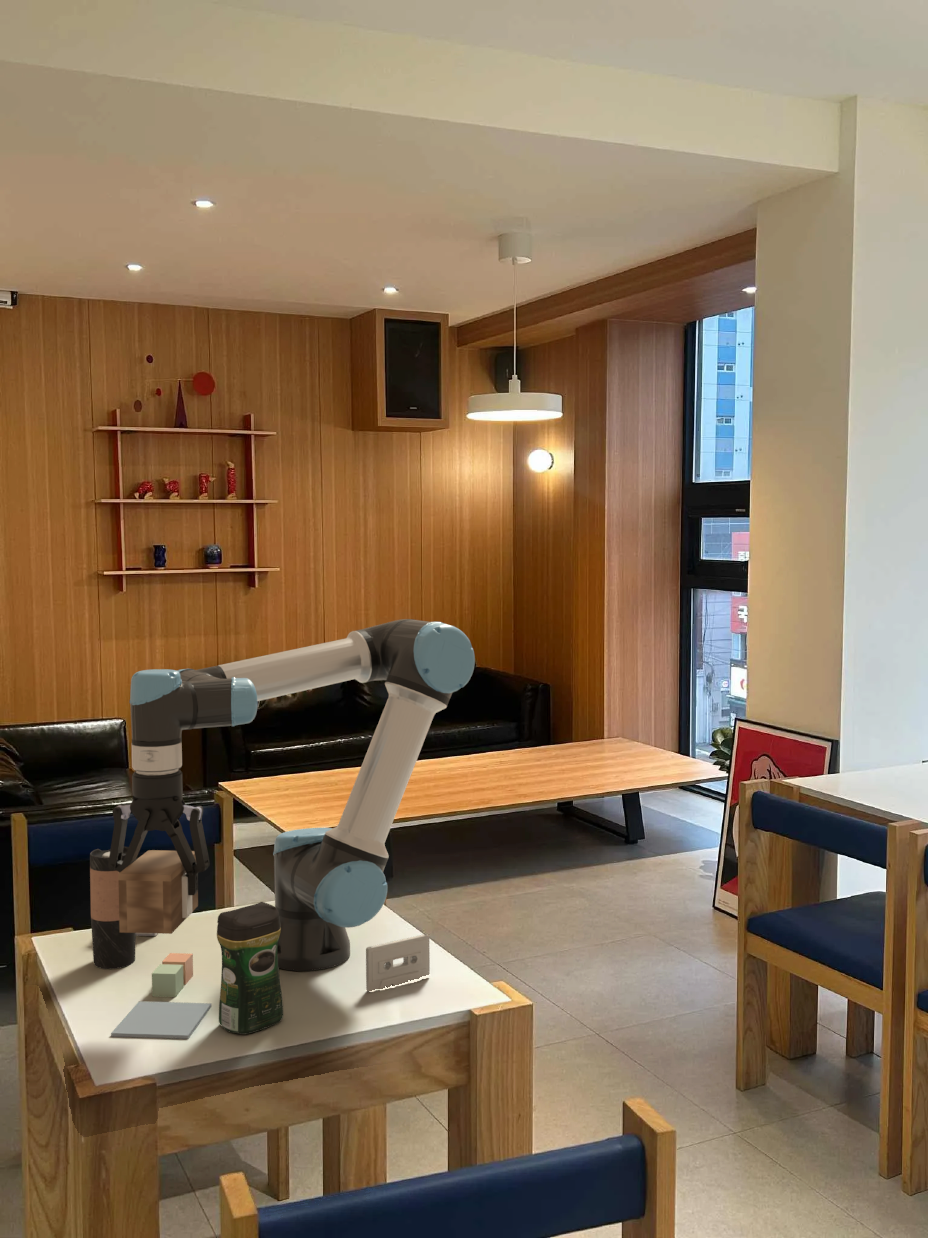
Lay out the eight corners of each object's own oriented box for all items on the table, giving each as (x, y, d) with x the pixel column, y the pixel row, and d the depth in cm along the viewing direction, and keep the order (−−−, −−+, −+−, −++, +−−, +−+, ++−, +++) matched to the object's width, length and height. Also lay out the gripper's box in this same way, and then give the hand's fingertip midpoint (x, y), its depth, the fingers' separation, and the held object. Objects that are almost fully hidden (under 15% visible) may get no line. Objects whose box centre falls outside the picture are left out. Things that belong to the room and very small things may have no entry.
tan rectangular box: (198, 906, 186) (197, 851, 185) (171, 933, 173) (170, 875, 172) (149, 905, 186) (148, 850, 186) (119, 932, 173) (118, 873, 173)
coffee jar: (262, 1007, 186) (260, 894, 185) (291, 1022, 180) (289, 906, 179) (209, 1025, 179) (207, 908, 178) (238, 1041, 174) (236, 920, 172)
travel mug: (123, 971, 201) (121, 859, 200) (83, 968, 203) (80, 856, 201) (144, 955, 209) (141, 847, 207) (105, 952, 210) (102, 845, 209)
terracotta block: (193, 976, 199) (192, 953, 199) (185, 985, 195) (185, 962, 195) (170, 975, 200) (170, 953, 199) (162, 984, 196) (162, 961, 195)
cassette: (369, 995, 191) (369, 950, 191) (364, 991, 193) (364, 946, 192) (431, 979, 198) (431, 936, 197) (425, 976, 199) (425, 933, 199)
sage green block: (183, 988, 194) (183, 965, 194) (175, 997, 190) (175, 974, 190) (160, 987, 194) (159, 964, 194) (152, 997, 191) (151, 973, 190)
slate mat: (211, 1006, 186) (211, 1003, 186) (188, 1038, 174) (188, 1035, 174) (139, 1004, 187) (139, 1001, 187) (111, 1036, 175) (111, 1033, 175)
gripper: (81, 774, 175) (85, 920, 177) (216, 776, 173) (218, 924, 175) (101, 764, 182) (104, 905, 184) (230, 766, 181) (232, 908, 183)
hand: (160, 914), depth 180 cm, fingers closed on tan rectangular box, 8 cm apart
